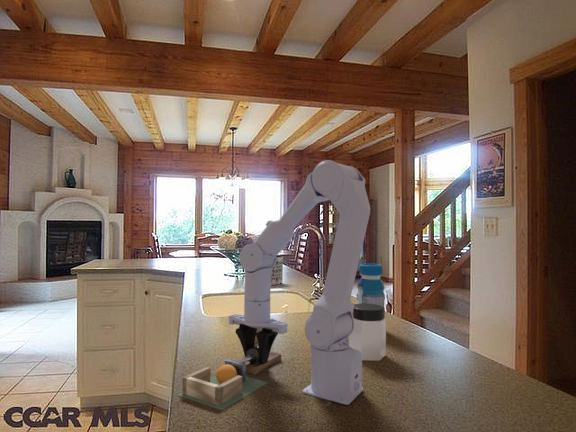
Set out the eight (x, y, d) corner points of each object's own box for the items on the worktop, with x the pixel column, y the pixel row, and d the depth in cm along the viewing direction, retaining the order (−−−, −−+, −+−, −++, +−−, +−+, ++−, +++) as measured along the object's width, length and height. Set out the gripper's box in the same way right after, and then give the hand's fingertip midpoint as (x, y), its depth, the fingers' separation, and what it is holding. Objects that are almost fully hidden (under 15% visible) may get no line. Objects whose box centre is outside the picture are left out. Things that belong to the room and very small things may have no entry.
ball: (243, 376, 79) (237, 362, 77) (231, 392, 76) (225, 378, 74) (227, 372, 81) (221, 358, 80) (216, 388, 78) (209, 373, 77)
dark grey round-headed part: (255, 362, 90) (255, 341, 90) (272, 366, 88) (272, 345, 88) (224, 377, 81) (224, 354, 81) (242, 382, 78) (242, 359, 78)
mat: (267, 383, 80) (267, 382, 80) (222, 411, 68) (222, 410, 68) (225, 372, 85) (225, 370, 85) (176, 396, 73) (176, 394, 73)
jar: (381, 350, 101) (382, 303, 102) (389, 361, 93) (390, 310, 93) (346, 349, 101) (347, 302, 102) (351, 360, 93) (352, 310, 94)
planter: (272, 286, 198) (272, 258, 199) (246, 283, 206) (246, 256, 207) (288, 282, 212) (288, 256, 212) (263, 280, 220) (263, 254, 220)
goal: (242, 392, 75) (242, 376, 75) (219, 405, 69) (219, 388, 69) (206, 381, 79) (206, 366, 79) (182, 393, 74) (182, 377, 74)
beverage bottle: (373, 336, 114) (374, 266, 114) (350, 329, 120) (351, 264, 120) (390, 331, 119) (390, 265, 120) (367, 325, 126) (368, 262, 126)
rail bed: (281, 360, 93) (281, 353, 93) (254, 375, 84) (254, 367, 84) (271, 358, 94) (272, 351, 94) (245, 372, 85) (245, 365, 85)
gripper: (295, 300, 86) (294, 362, 86) (242, 292, 94) (241, 350, 94) (277, 305, 80) (276, 372, 80) (222, 297, 88) (222, 358, 88)
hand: (256, 361), depth 86 cm, fingers closed on dark grey round-headed part, 3 cm apart
